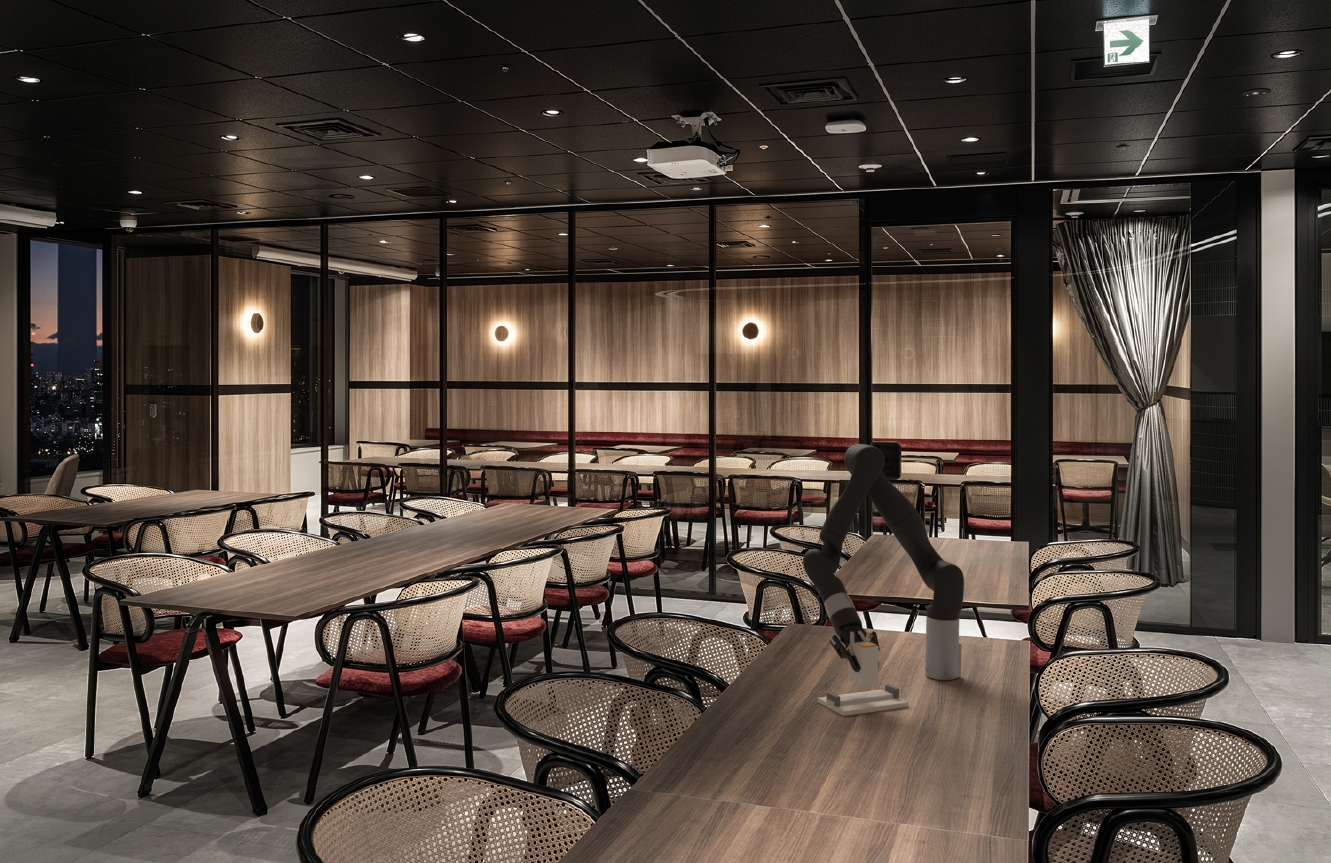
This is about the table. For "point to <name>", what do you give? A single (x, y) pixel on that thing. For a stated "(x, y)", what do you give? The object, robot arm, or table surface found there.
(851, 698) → the mounting board
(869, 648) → the rail module
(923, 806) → the table surface
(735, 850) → the table surface
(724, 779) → the table surface
